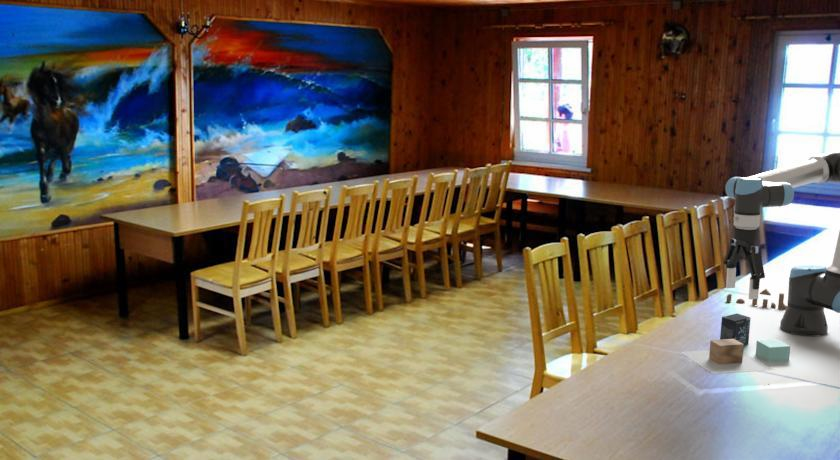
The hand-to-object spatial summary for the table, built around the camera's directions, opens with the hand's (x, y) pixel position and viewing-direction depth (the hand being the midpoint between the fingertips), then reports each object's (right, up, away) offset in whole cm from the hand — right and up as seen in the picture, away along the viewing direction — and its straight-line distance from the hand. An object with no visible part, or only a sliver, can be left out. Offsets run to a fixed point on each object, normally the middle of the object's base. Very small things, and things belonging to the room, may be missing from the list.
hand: (741, 293), depth 256 cm
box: (+2, -19, +13) cm, 23 cm away
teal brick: (+9, -21, -1) cm, 23 cm away
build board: (-6, -22, -3) cm, 23 cm away
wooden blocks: (+34, -10, +60) cm, 70 cm away
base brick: (-6, -21, -4) cm, 22 cm away
